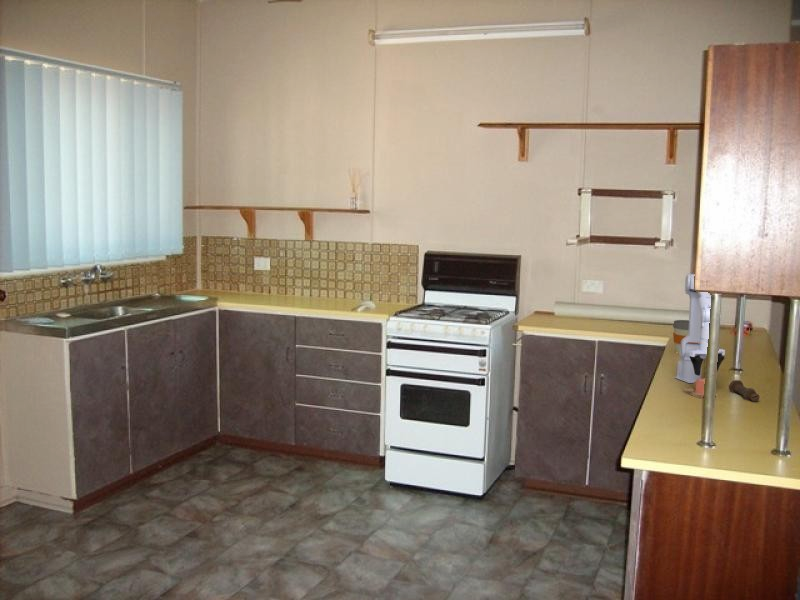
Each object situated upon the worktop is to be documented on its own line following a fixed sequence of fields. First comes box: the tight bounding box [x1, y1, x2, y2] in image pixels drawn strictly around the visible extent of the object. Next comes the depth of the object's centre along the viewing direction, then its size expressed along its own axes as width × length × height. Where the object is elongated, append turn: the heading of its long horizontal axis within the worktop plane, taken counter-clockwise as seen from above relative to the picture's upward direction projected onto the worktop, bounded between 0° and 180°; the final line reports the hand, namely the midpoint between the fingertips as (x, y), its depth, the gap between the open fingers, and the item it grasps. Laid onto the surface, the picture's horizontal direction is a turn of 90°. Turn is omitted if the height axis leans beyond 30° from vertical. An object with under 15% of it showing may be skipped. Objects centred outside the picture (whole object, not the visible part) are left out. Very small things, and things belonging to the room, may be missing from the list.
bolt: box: [728, 379, 761, 403], centre depth 300 cm, size 6×5×15 cm
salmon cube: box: [695, 378, 706, 395], centre depth 301 cm, size 5×5×5 cm
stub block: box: [681, 382, 718, 399], centre depth 303 cm, size 10×8×4 cm
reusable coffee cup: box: [672, 319, 699, 353], centre depth 379 cm, size 13×13×15 cm
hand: (705, 374), depth 300 cm, fingers open, 7 cm apart
